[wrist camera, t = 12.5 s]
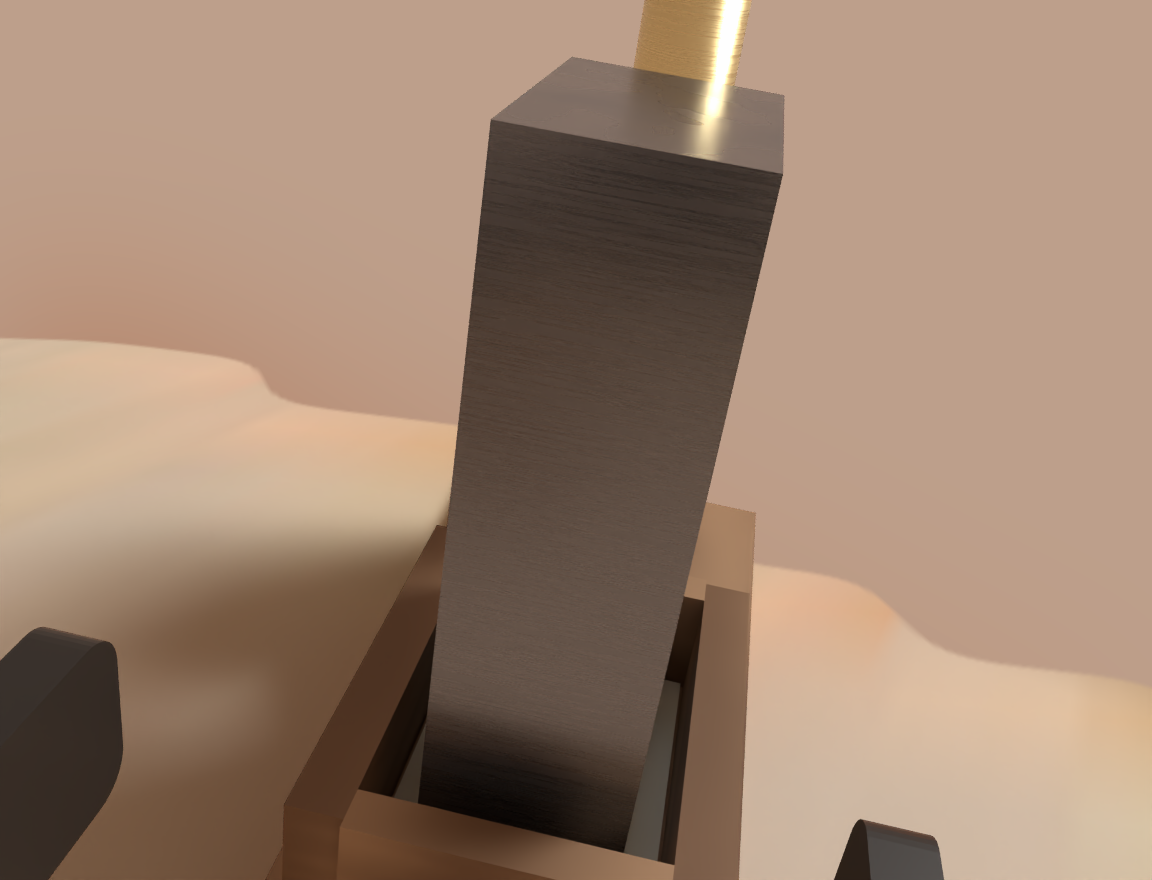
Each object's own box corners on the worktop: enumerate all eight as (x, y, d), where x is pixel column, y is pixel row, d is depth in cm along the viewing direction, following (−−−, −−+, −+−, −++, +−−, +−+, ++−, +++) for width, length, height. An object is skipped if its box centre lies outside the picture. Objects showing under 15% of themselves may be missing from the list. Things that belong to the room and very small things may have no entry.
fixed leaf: (647, 514, 39) (761, -38, 30) (619, 643, 32) (754, -18, 24) (580, 499, 39) (675, -53, 30) (538, 625, 32) (645, -37, 24)
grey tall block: (646, 700, 30) (784, 94, 22) (609, 913, 23) (783, 173, 16) (488, 664, 30) (571, 56, 23) (411, 864, 24) (490, 119, 16)
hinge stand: (749, 535, 40) (774, 440, 38) (717, 1137, 21) (764, 1003, 19) (484, 479, 41) (496, 382, 39) (216, 1007, 22) (214, 866, 20)
